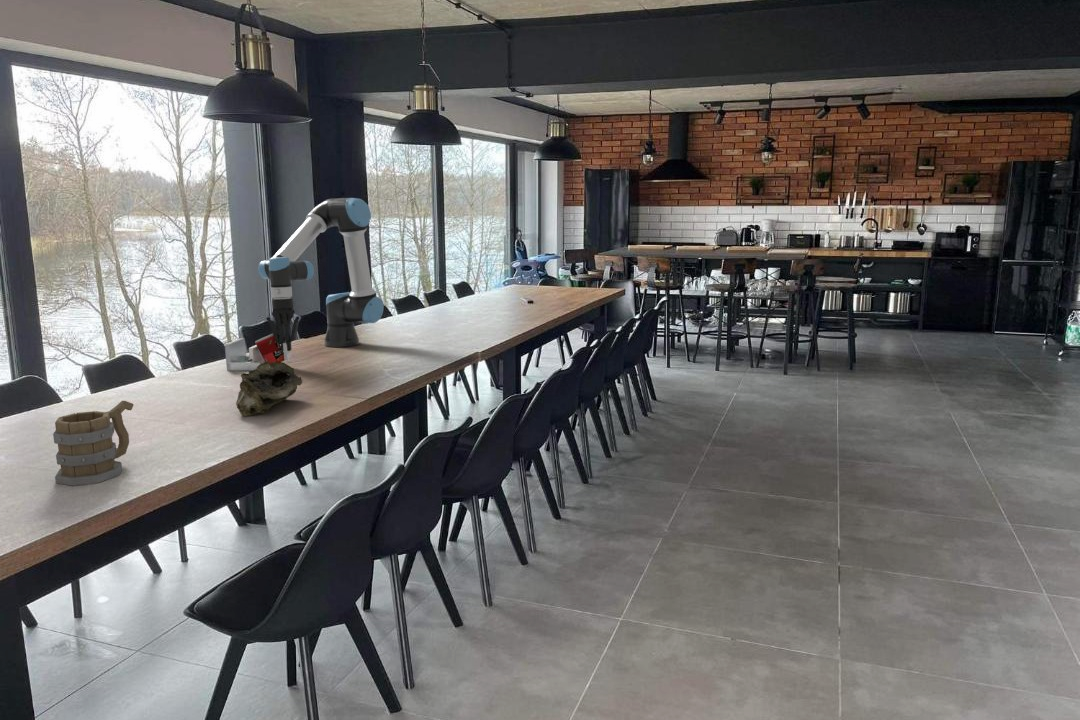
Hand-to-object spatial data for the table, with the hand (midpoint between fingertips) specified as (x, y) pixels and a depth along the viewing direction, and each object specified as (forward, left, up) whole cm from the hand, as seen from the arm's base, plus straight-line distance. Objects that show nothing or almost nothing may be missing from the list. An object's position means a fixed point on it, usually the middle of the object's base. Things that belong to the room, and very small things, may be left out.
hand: (287, 359), depth 295 cm
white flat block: (+1, -12, -3) cm, 12 cm away
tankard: (+119, +1, -3) cm, 119 cm away
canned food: (-1, -4, -2) cm, 4 cm away
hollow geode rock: (+59, +17, -4) cm, 62 cm away
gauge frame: (-1, -14, -3) cm, 15 cm away
